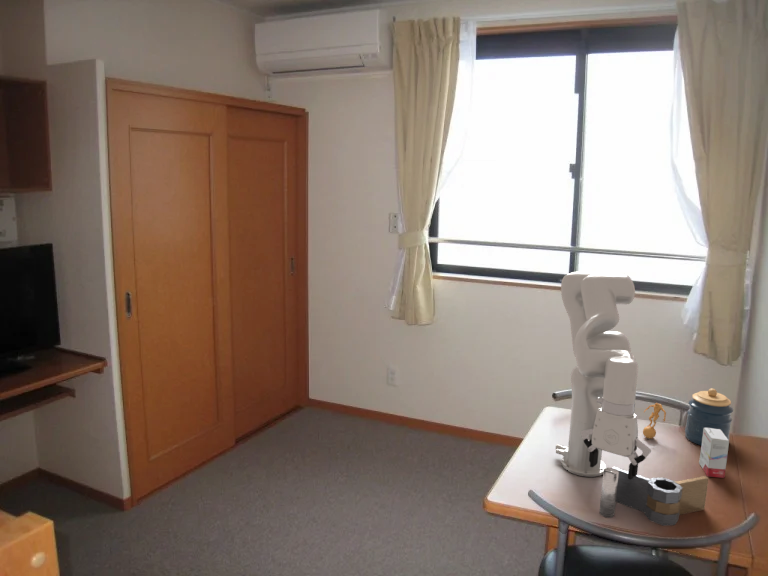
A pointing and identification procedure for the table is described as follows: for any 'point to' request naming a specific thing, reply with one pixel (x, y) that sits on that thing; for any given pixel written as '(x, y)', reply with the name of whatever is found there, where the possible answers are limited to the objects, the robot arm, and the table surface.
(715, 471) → the ink box
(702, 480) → the bronze hinge leaf
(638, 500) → the fixed hinge leaf
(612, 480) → the hinge pin
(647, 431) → the figurine
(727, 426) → the canister
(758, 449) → the table surface
